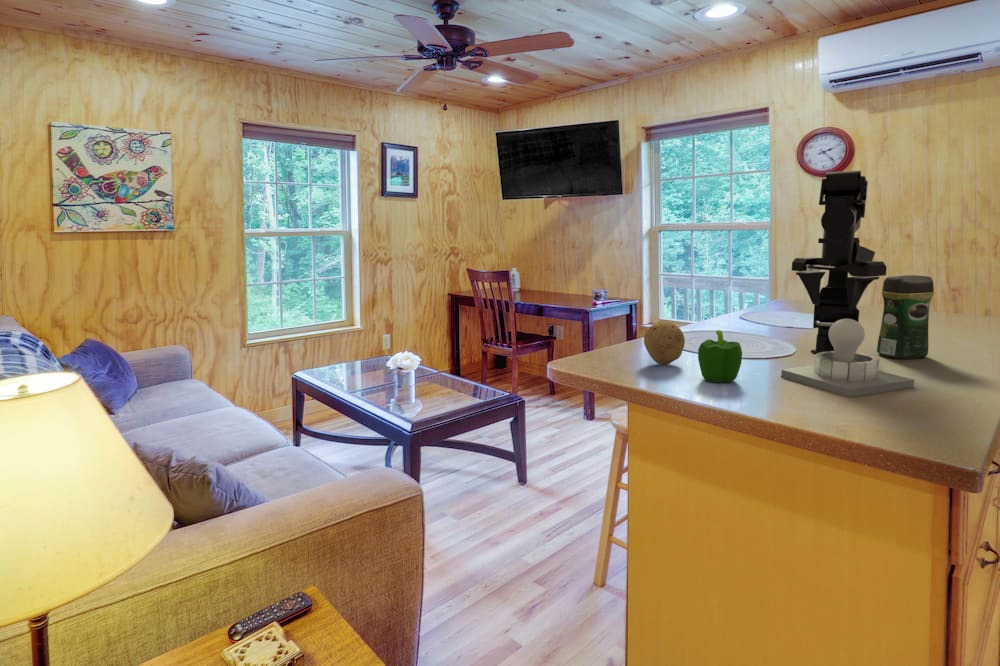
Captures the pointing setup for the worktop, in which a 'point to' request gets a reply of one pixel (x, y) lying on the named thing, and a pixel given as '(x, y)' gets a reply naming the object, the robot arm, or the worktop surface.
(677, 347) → the natural sponge
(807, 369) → the socket plate
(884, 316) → the coffee jar
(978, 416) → the worktop surface
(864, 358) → the socket collar
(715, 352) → the bell pepper
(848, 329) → the lightbulb
